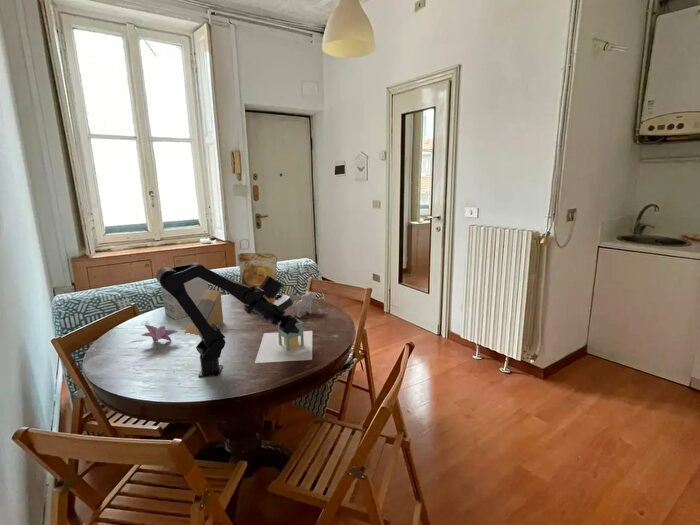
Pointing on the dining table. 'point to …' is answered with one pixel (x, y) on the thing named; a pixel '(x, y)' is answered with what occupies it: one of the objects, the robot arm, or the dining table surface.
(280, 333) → the green hollow square frame
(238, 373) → the dining table surface
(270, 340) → the white rectangular sheet
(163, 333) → the lily
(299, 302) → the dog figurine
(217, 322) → the sandwich container
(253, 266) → the pancake mix bag
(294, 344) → the plus sign cube
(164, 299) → the supplement box
